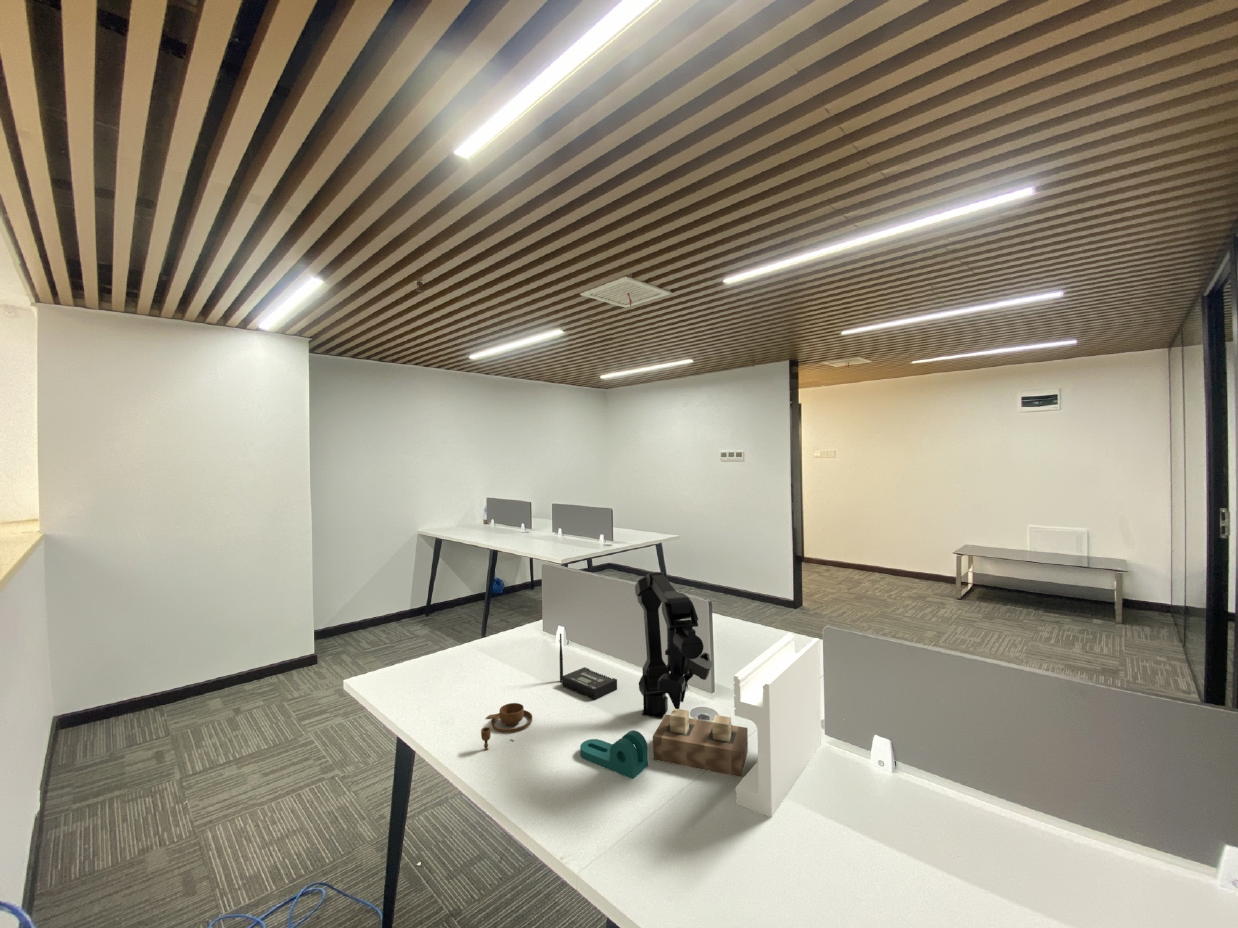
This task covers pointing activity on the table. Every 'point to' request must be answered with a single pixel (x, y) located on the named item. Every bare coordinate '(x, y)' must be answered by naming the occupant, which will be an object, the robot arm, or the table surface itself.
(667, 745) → the band block
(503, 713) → the place setting
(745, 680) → the block
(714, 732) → the peg
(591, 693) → the wireless controller
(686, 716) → the peg
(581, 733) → the table surface
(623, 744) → the bracket
